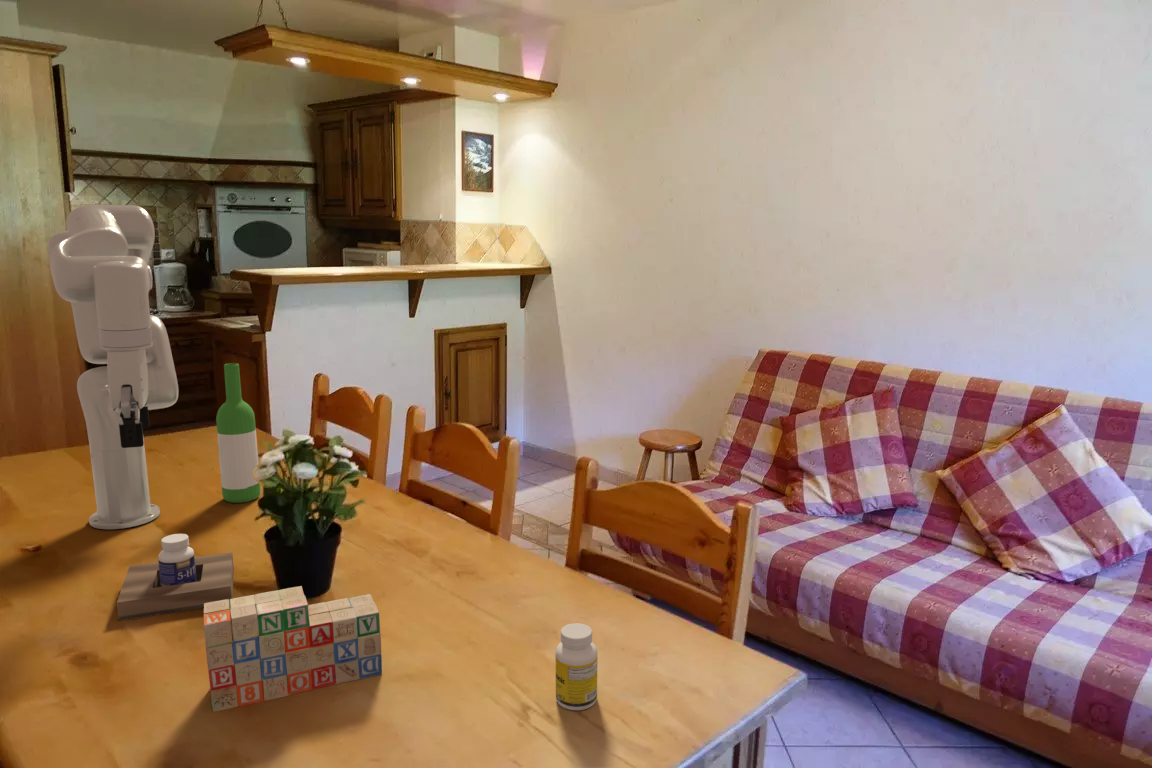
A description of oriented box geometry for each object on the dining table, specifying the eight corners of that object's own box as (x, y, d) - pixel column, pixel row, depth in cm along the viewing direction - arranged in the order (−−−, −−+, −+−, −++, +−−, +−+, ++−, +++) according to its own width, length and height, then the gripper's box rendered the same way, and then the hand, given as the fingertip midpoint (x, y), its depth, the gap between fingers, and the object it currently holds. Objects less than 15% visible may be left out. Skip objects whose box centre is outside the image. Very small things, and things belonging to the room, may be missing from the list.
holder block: (131, 582, 136) (129, 565, 135) (233, 568, 142) (232, 552, 141) (118, 620, 123) (116, 602, 123) (232, 603, 129) (230, 586, 128)
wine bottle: (268, 496, 178) (258, 363, 172) (237, 506, 171) (226, 368, 165) (246, 490, 182) (236, 359, 176) (215, 499, 175) (203, 364, 169)
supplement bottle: (554, 688, 107) (554, 620, 105) (594, 686, 107) (595, 619, 105) (556, 713, 101) (556, 642, 99) (599, 711, 102) (600, 640, 100)
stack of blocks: (374, 653, 115) (370, 573, 113) (383, 675, 110) (379, 591, 107) (210, 687, 106) (202, 601, 104) (211, 713, 101) (202, 623, 98)
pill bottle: (182, 597, 129) (177, 546, 128) (154, 594, 130) (148, 543, 129) (204, 583, 135) (199, 533, 133) (176, 580, 136) (171, 530, 134)
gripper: (107, 329, 138) (117, 424, 142) (91, 349, 122) (102, 456, 126) (156, 327, 140) (165, 421, 145) (146, 347, 125) (156, 452, 129)
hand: (136, 437), depth 135 cm, fingers open, 9 cm apart
